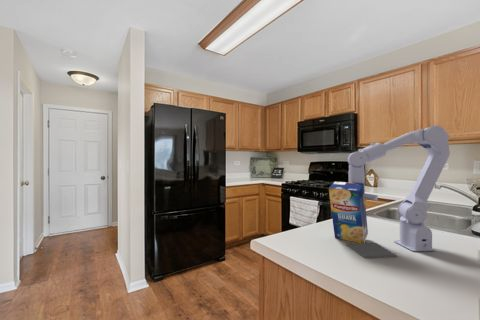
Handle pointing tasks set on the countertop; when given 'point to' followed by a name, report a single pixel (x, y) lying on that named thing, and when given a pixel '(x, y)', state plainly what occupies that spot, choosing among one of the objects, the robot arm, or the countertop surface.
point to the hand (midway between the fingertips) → (356, 216)
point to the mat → (371, 250)
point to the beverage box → (349, 211)
